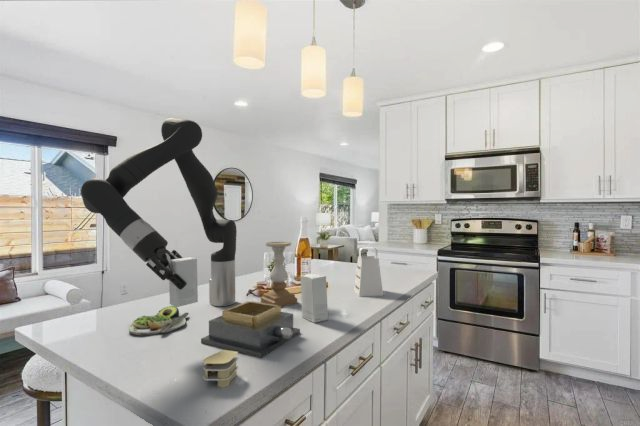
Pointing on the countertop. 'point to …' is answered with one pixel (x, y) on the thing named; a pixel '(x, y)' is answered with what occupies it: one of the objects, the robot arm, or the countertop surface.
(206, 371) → the tan layered stack
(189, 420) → the countertop surface
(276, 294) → the candle holder
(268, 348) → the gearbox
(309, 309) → the skincare box
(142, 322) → the salad plate
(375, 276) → the grater
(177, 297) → the skincare box
